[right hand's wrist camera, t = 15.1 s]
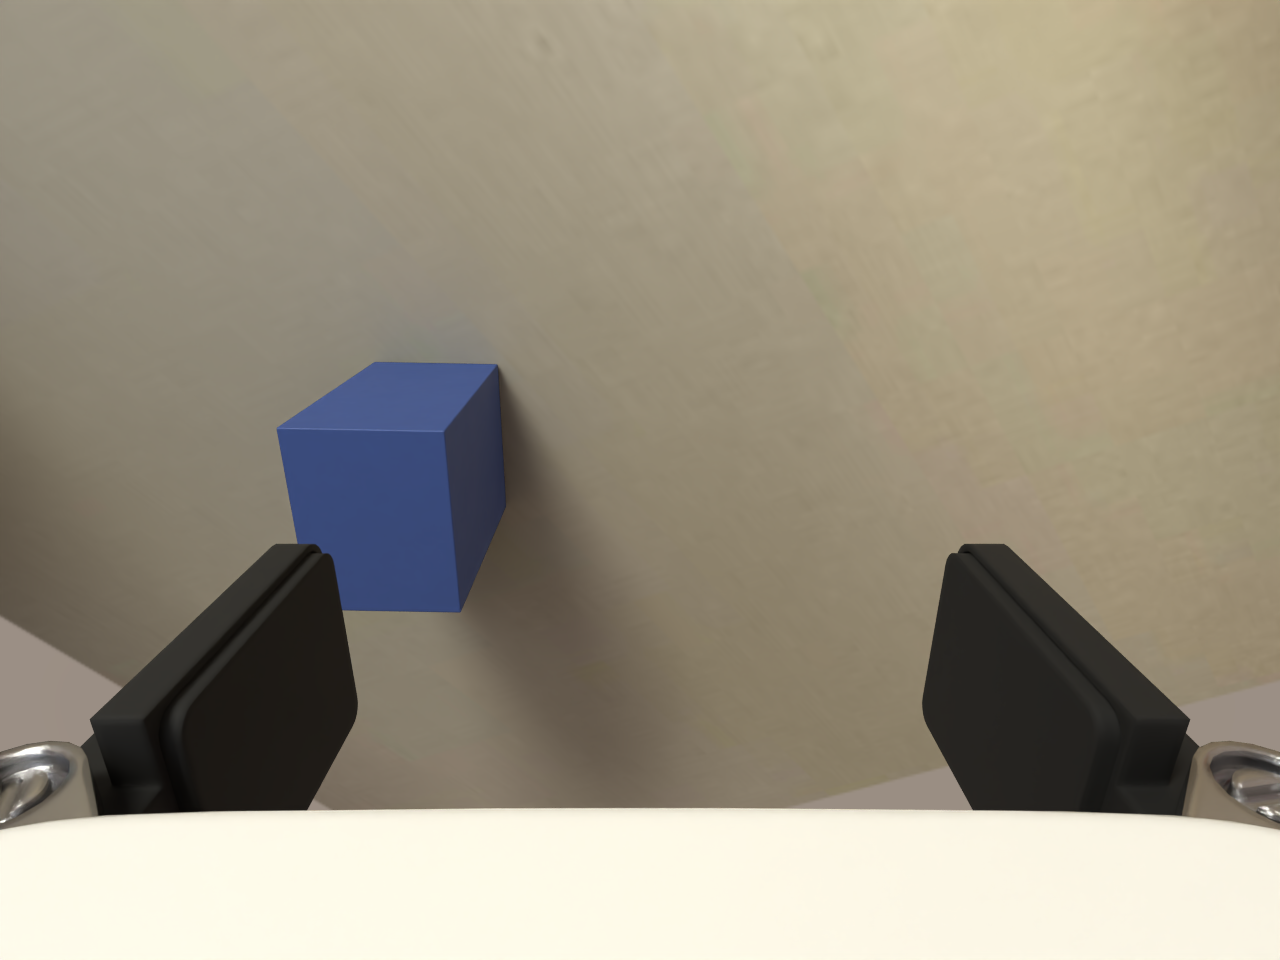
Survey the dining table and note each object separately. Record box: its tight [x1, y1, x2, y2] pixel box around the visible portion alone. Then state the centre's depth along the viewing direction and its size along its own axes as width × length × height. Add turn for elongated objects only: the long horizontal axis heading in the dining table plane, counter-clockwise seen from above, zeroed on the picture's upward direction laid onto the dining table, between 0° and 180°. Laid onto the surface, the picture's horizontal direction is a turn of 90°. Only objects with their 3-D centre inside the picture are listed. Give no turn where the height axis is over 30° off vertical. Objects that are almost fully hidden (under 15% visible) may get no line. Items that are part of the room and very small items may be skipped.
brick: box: [277, 362, 506, 612], centre depth 28 cm, size 5×7×9 cm
